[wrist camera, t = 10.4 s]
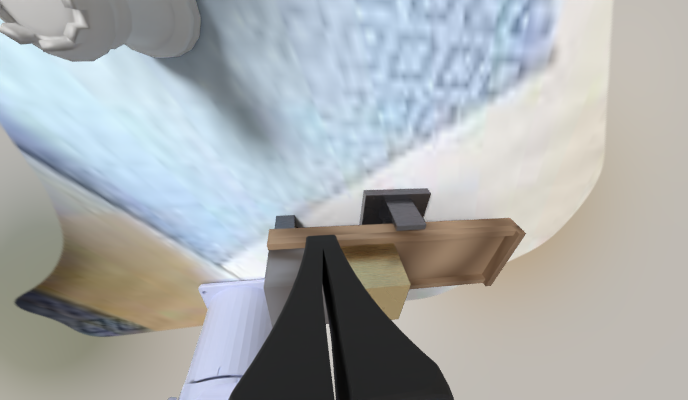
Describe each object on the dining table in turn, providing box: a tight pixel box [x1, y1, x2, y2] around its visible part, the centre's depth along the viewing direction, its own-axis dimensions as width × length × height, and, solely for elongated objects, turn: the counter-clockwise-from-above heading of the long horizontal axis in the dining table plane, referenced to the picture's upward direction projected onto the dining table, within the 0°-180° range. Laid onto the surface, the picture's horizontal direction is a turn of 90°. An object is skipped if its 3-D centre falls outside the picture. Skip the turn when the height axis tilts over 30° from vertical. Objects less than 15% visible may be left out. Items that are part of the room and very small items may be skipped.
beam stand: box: [275, 189, 431, 231], centre depth 23 cm, size 14×10×4 cm
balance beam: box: [264, 218, 526, 328], centre depth 21 cm, size 21×7×5 cm, turn 87°
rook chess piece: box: [0, 0, 201, 61], centre depth 10 cm, size 4×4×8 cm
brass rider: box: [341, 244, 411, 320], centre depth 20 cm, size 5×5×4 cm
